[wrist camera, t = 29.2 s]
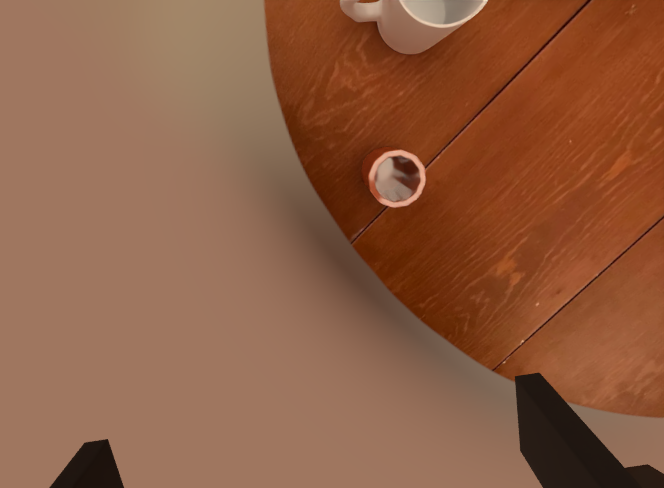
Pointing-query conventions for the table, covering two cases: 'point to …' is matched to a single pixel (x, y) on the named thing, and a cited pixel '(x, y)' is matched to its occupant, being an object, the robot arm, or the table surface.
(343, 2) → the mug
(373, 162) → the crock
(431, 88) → the table surface
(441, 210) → the table surface
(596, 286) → the table surface
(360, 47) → the table surface
